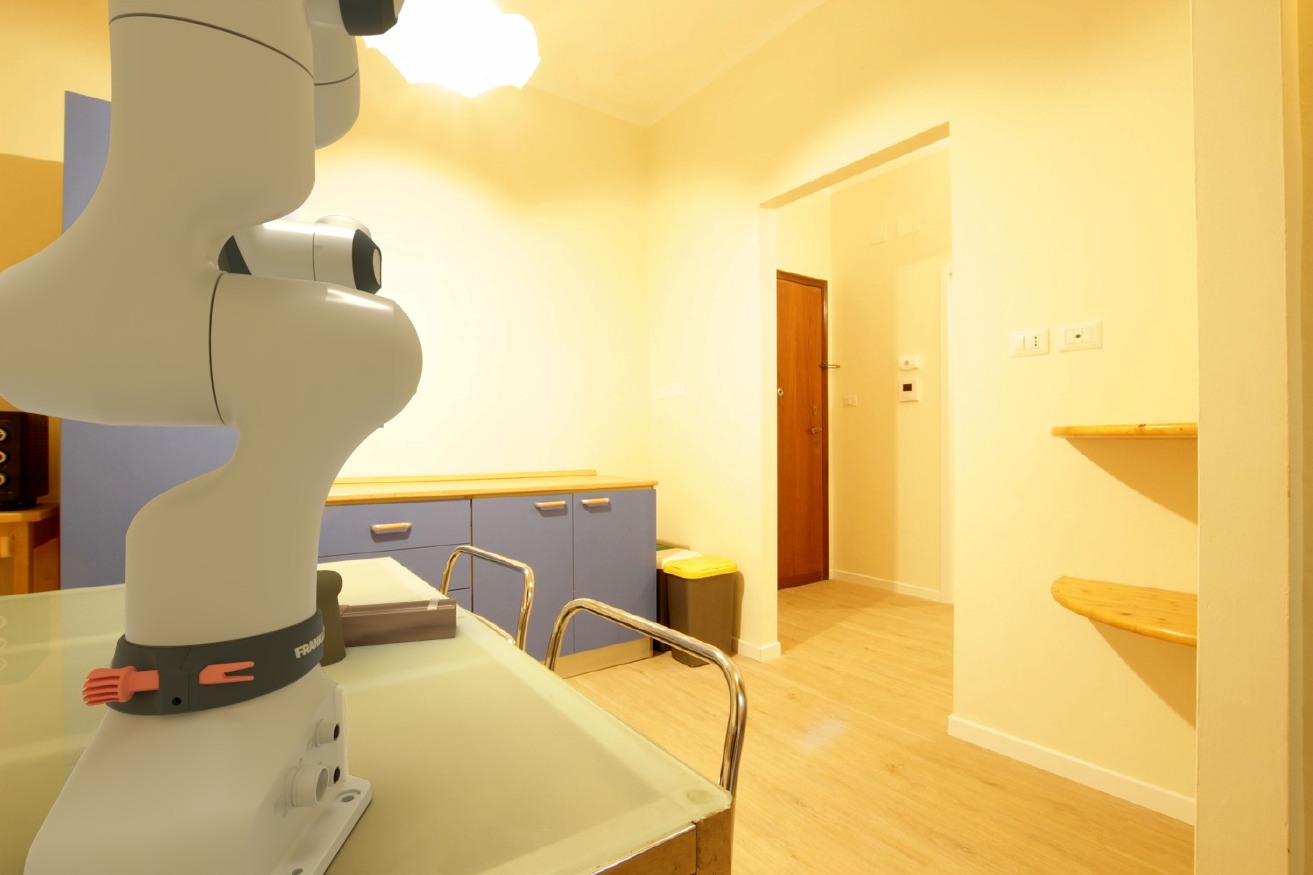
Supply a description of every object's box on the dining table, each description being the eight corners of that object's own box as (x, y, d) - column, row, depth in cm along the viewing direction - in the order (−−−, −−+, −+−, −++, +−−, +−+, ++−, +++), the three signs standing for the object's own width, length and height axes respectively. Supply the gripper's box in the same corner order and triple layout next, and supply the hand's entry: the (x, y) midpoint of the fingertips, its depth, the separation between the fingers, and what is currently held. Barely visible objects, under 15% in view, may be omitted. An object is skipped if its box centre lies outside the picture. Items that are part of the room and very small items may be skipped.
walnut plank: (454, 637, 84) (454, 607, 84) (292, 651, 78) (292, 619, 79) (456, 625, 90) (456, 596, 90) (305, 637, 84) (305, 607, 84)
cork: (304, 671, 71) (304, 578, 72) (282, 661, 75) (282, 572, 75) (355, 657, 76) (355, 570, 76) (332, 647, 80) (332, 564, 80)
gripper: (254, 325, 83) (253, 426, 83) (414, 333, 89) (413, 427, 88) (269, 333, 89) (269, 427, 89) (418, 340, 95) (418, 428, 95)
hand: (342, 427), depth 89 cm, fingers open, 8 cm apart
